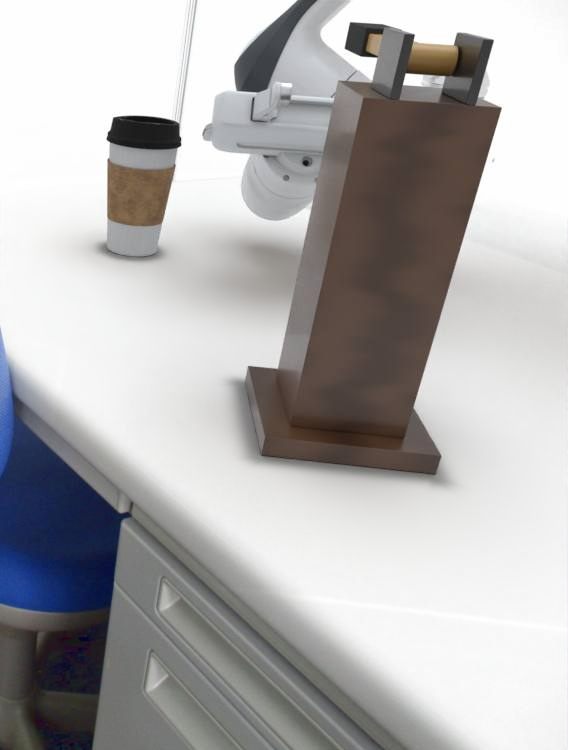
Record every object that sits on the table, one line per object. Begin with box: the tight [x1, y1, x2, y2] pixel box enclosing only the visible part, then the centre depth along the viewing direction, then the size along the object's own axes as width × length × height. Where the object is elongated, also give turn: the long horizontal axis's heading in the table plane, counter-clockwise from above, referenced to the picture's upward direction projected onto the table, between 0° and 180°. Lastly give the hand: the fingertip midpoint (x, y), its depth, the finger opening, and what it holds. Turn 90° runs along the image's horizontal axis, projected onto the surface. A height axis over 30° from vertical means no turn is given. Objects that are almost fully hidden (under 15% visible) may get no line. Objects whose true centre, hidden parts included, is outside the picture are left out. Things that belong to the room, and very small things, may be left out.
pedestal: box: [244, 27, 503, 475], centre depth 60 cm, size 12×12×28 cm
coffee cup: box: [106, 115, 182, 258], centre depth 99 cm, size 8×8×15 cm
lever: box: [344, 21, 458, 77], centre depth 61 cm, size 4×18×2 cm, turn 173°
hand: (338, 93), depth 76 cm, fingers open, 8 cm apart
